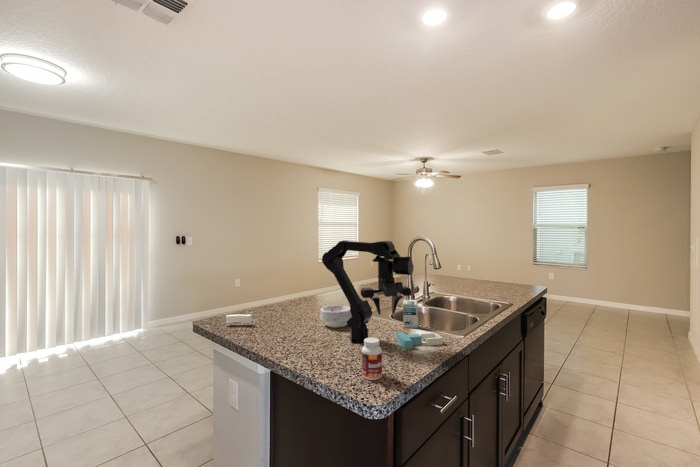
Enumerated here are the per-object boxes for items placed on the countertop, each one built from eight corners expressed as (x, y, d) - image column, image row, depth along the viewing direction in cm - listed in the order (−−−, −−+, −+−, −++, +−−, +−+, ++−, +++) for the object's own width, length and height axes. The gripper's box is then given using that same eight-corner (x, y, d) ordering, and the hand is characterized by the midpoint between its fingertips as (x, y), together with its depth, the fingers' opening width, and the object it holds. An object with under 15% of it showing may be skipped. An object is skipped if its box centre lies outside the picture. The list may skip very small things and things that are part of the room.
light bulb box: (418, 328, 143) (417, 304, 143) (403, 327, 144) (402, 304, 144) (418, 321, 153) (417, 299, 153) (403, 321, 155) (403, 299, 155)
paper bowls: (342, 318, 161) (342, 303, 161) (359, 326, 148) (358, 309, 148) (315, 323, 153) (315, 307, 153) (329, 332, 140) (329, 314, 140)
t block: (404, 349, 118) (404, 341, 118) (396, 340, 128) (396, 332, 128) (425, 347, 119) (424, 339, 119) (415, 338, 129) (415, 331, 129)
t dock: (427, 345, 121) (427, 339, 121) (420, 339, 128) (420, 333, 128) (442, 344, 122) (442, 337, 122) (435, 338, 129) (435, 332, 129)
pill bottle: (368, 382, 92) (368, 345, 92) (357, 374, 98) (357, 338, 98) (386, 377, 95) (385, 341, 95) (374, 370, 101) (374, 335, 101)
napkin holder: (219, 327, 150) (218, 315, 150) (238, 321, 160) (238, 310, 160) (240, 332, 143) (240, 319, 143) (259, 325, 152) (259, 313, 152)
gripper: (366, 277, 112) (367, 321, 113) (416, 275, 116) (417, 318, 116) (360, 273, 123) (360, 313, 124) (406, 271, 127) (406, 310, 127)
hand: (386, 314), depth 122 cm, fingers open, 5 cm apart
